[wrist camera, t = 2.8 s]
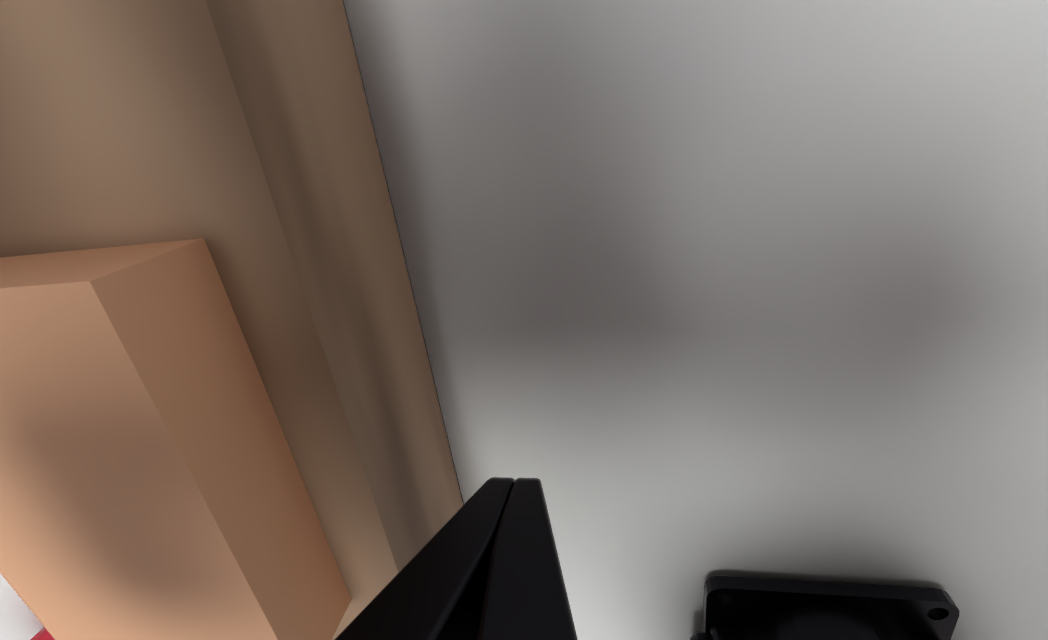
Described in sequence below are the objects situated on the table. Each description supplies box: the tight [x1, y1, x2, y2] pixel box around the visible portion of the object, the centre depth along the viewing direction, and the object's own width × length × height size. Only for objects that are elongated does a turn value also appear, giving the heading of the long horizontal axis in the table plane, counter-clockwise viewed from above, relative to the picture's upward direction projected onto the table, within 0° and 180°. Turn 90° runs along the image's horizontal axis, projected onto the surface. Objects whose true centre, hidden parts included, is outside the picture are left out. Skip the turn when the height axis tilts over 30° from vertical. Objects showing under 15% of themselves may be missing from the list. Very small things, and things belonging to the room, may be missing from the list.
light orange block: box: [0, 238, 351, 640], centre depth 10 cm, size 6×9×2 cm, turn 7°
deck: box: [0, 0, 463, 640], centre depth 12 cm, size 10×17×4 cm, turn 7°
